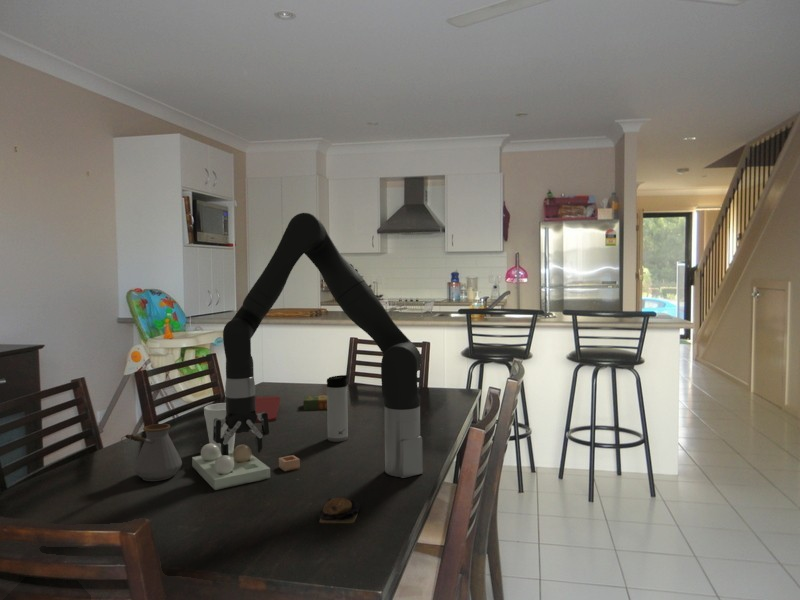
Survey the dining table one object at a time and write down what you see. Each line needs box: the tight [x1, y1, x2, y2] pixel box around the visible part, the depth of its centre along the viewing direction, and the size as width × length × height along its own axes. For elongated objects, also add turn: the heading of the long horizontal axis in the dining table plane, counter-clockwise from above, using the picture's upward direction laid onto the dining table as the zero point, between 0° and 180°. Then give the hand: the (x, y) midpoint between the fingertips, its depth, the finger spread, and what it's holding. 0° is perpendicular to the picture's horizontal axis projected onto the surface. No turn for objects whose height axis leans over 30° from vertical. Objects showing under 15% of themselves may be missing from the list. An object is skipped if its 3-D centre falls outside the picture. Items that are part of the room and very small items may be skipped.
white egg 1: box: [200, 442, 220, 461], centre depth 157 cm, size 5×5×5 cm
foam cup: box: [203, 402, 236, 452], centre depth 172 cm, size 10×9×13 cm
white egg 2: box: [214, 455, 234, 475], centre depth 146 cm, size 5×5×5 cm
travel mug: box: [326, 374, 349, 443], centre depth 182 cm, size 6×7×20 cm
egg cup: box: [278, 454, 301, 472], centre depth 156 cm, size 4×4×2 cm
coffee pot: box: [120, 423, 183, 482], centre depth 146 cm, size 21×12×15 cm, turn 177°
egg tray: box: [191, 449, 271, 491], centre depth 153 cm, size 21×14×2 cm, turn 34°
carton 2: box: [255, 395, 281, 423], centre depth 217 cm, size 12×5×25 cm
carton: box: [302, 394, 327, 411], centre depth 226 cm, size 8×16×4 cm, turn 96°
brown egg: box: [233, 444, 252, 463], centre depth 155 cm, size 5×5×5 cm
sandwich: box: [318, 497, 361, 524], centre depth 127 cm, size 11×8×4 cm
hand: (242, 454), depth 155 cm, fingers open, 8 cm apart
